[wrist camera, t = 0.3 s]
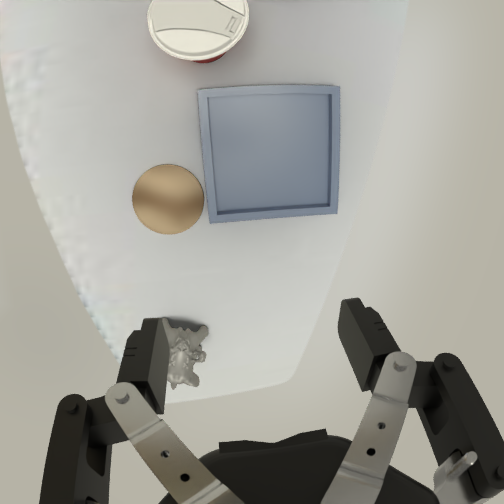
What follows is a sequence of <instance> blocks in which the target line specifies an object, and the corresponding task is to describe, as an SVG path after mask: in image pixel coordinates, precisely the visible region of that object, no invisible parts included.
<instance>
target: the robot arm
mask: <svg viewBox="0 0 504 504" xmlns="http://www.w3.org/2000/svg"><path fill="white" fill-rule="evenodd" d="M338 333H339V338H340V340H341V343H342V345H343V347H344V349H345V352H346V354H347V356H348V359H349V361H350V364H351V366H352V368H353V371H354V373H355V375H356V378H357V381H358V383H359V385H360V388H361V390H362V392H364V391H368V390H371V392H372V397H371V399H370V402H369V404H368V407H367V410H366V412H365V414H364V417H363V419H362V421H361V423H360V426H359V428H358V430H357V432H356V435H355V437H354V439H353V441H351V440H349V439H346V438H343V437H339V436H332V435H327V432H326V429H322V430H315V431H310V432H305V433H300V434H297V435H294V436H292V437H289V438H287V439H284V440H281V441H279V442H276V443H266V442H256V441H248V440H243V441H230V442H219V449H217V450H214V451H212V452H210V453H208V454H206V455H204V456H202V457H201V458H199V459H197V458H196V457H195V456H194V455H193V453H192V452H191V451H190V450H189V449H188V448H187V447H186V446H185V445H184V443H183V442H182V441H181V440H180V439H179V438H178V437H177V435H176V434H175V433H174V432H173V431H172V430H171V428H170V427H169V426H168V425H167V424H166V423H165V422H164V420H162V419H160V418H159V417H158V416H157V414H164V405H165V394H166V384H167V375H168V365H169V357H170V349H169V342H168V339H167V336H166V332H165V329H164V326H163V322H162V319H161V318H145V319H144V320H143V323H142V327H141V330H134V331H133V332H132V334H131V335H130V336H129V337H128V339H127V342H126V346H125V350H124V354H123V358H122V362H121V366H120V370H119V374H118V378H117V382H116V384H115V385H113V386H111V387H110V388H109V389H108V391H107V393H106V395H105V396H102V397H99V398H95V399H91V400H87V401H86V400H85V398H84V397H82V396H81V395H79V394H71V395H68V396H66V397H64V398H63V399H62V400H61V401H60V403H59V405H58V407H57V411H56V415H55V420H54V424H53V428H52V433H51V437H50V442H49V447H48V452H47V457H46V463H45V468H44V474H43V480H42V487H41V494H40V501H39V504H108V503H109V481H110V466H111V454H112V444H115V443H119V442H123V441H127V440H130V442H131V443H132V445H133V446H134V448H135V449H136V450H137V452H138V453H139V455H140V456H141V457H142V459H143V460H144V461H145V463H146V464H147V466H148V467H149V468H150V469H151V471H152V472H153V473H154V475H155V476H156V477H157V478H158V480H159V481H160V482H161V483H162V484H163V486H164V487H165V488H166V490H167V491H168V494H167V495H166V496H165V497H164V498H163V499H162V500H161V501H160V503H159V504H483V503H484V502H486V501H488V500H489V499H491V498H492V497H494V496H495V495H497V494H498V493H500V492H501V491H503V490H504V441H503V439H502V437H501V435H500V432H499V430H498V428H497V427H496V424H495V422H494V421H493V418H492V417H491V414H490V413H489V411H488V409H487V407H486V405H485V403H484V401H483V399H482V397H481V396H480V394H479V392H478V390H477V388H476V387H475V385H474V383H473V381H472V379H471V378H470V376H469V374H468V373H467V371H466V369H465V367H464V366H463V364H462V362H461V361H460V359H459V358H458V357H456V356H455V355H453V354H450V353H442V354H439V355H438V356H436V358H435V360H434V362H423V361H415V359H414V358H413V357H412V356H411V355H409V354H408V353H405V352H401V350H400V348H399V347H398V345H397V343H396V342H395V340H394V338H393V336H392V335H391V333H390V332H389V330H388V329H387V326H386V325H385V323H383V320H382V318H381V316H380V315H379V313H378V312H376V311H375V310H373V309H372V308H371V307H367V308H365V307H364V305H363V303H362V302H361V300H360V299H359V298H351V299H345V300H342V302H341V308H340V315H339V321H338ZM408 408H416V409H417V411H418V414H419V416H420V419H421V421H422V424H423V426H424V428H425V431H426V434H427V436H428V439H429V442H430V444H431V447H432V449H433V452H434V455H435V458H436V460H437V463H438V466H439V467H438V468H437V470H436V471H435V474H434V491H432V490H430V489H429V488H428V487H426V486H424V485H422V484H421V483H419V482H417V481H416V480H414V479H412V478H411V477H409V476H407V475H405V474H404V473H402V472H400V471H399V470H397V469H395V468H394V467H392V466H390V465H389V463H390V461H391V458H392V455H393V453H394V450H395V447H396V444H397V441H398V438H399V435H400V432H401V429H402V426H403V423H404V420H405V417H406V413H407V410H408Z"/></svg>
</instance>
